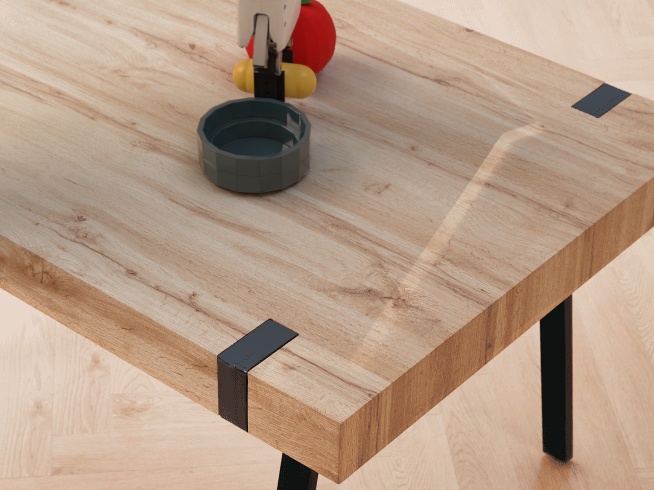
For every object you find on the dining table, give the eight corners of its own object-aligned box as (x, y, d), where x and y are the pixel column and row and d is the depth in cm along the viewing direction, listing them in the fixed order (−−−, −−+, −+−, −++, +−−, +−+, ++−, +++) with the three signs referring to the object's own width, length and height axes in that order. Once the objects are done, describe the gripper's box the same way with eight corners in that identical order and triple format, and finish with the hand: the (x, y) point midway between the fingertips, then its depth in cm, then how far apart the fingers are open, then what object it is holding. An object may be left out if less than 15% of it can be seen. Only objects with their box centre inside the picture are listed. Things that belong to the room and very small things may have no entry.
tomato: (349, 88, 122) (352, 7, 115) (263, 105, 119) (261, 22, 112) (315, 45, 129) (316, -34, 122) (232, 60, 126) (228, -20, 119)
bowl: (179, 177, 108) (175, 139, 105) (235, 123, 116) (233, 87, 113) (278, 209, 105) (277, 171, 102) (328, 151, 112) (329, 114, 110)
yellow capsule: (229, 97, 114) (228, 67, 112) (237, 80, 117) (236, 50, 115) (313, 107, 114) (313, 77, 111) (319, 90, 116) (319, 60, 114)
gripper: (253, -110, 109) (257, 51, 122) (210, -42, 97) (220, 130, 109) (325, -103, 109) (322, 59, 121) (292, -33, 97) (292, 139, 109)
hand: (274, 91), depth 115 cm, fingers closed on yellow capsule, 3 cm apart
